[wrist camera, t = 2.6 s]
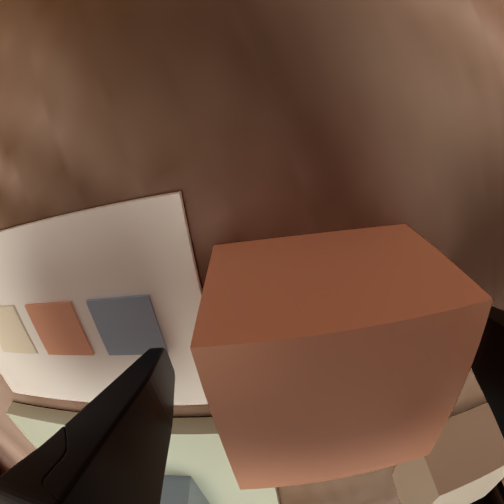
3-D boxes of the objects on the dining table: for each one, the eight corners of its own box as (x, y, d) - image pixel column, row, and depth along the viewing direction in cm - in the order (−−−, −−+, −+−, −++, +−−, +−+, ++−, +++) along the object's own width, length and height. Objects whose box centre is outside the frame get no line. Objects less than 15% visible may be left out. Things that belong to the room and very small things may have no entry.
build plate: (262, 413, 11) (263, 430, 10) (282, 514, 15) (283, 524, 15) (12, 401, 11) (6, 413, 10) (111, 506, 16) (109, 515, 15)
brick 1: (402, 221, 8) (493, 299, 4) (387, 362, 10) (429, 454, 6) (213, 243, 8) (190, 347, 4) (241, 383, 10) (240, 489, 6)
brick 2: (492, 397, 12) (525, 452, 8) (462, 448, 14) (484, 496, 10) (411, 427, 12) (439, 496, 8) (391, 473, 14) (407, 529, 10)
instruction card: (180, 191, 7) (178, 194, 7) (229, 398, 10) (229, 405, 10) (-56, 247, 8) (-61, 250, 8) (15, 389, 11) (12, 393, 10)
